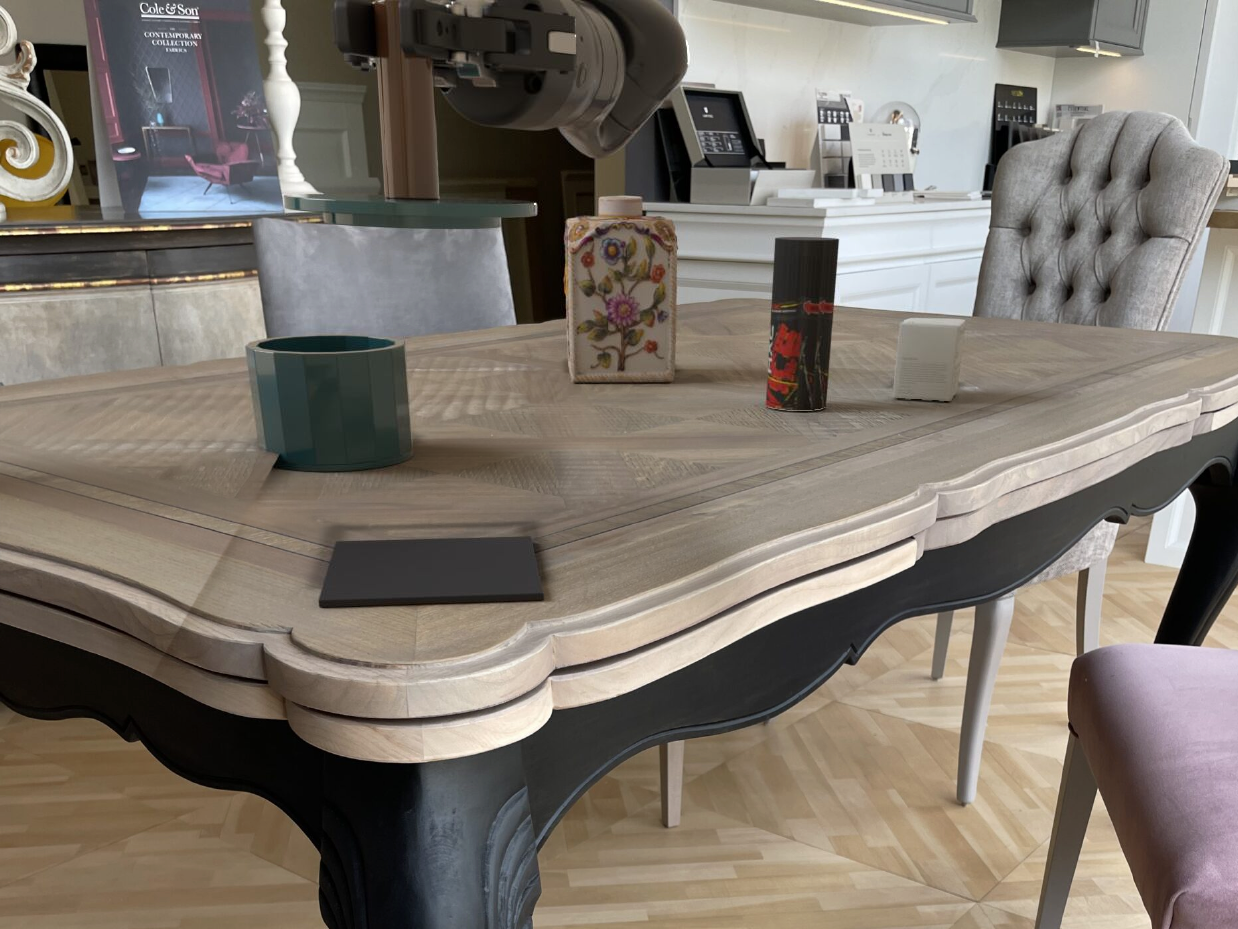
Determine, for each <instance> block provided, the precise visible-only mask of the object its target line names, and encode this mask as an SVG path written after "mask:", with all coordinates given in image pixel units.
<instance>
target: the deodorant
mask: <svg viewBox="0 0 1238 929" xmlns="http://www.w3.org/2000/svg"><path fill="white" fill-rule="evenodd" d="M839 246H840V238H836V237H821V236H820V237H819V236H818V237H817V236H782V237H775V238H774V251H773V268H772V269H773V270H772V271H773V272H772V288H771V304H770V305H771V308H770V323H769V341H768V358H767V359H768V360H767V376H766V395H765V406H766V405H767V406H769V407H772V408H777V409H785V410H815V409H821V408H824V407H826V408H827V401H828V399H827V398H828V386H829V376H830V375H829V373H830V362H831V350H832V349H831V348H832V336H833V335H832V334H833V322H834V312H835V311H834V310H835V298H836V287H837V286H836V285H837V273H838V272H837V271H838V260H839Z"/></svg>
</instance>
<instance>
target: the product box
mask: <svg viewBox="0 0 1238 929" xmlns="http://www.w3.org/2000/svg"><path fill="white" fill-rule="evenodd" d="M966 322H967V320H966V319H962V318H939V317H938V318H934V317H909V318H907V319H904V320H903V321H902V322H900V323H899V330H898V338H897V349H896V358H895V359H896V360H895V367H894V368H895V369H894V377H893V385H892V386H893V388H892V399H897V398H906V399H905V400H911V399H922V400H921V401H932V400H939V401H938V402H944V401H950V402H951V401H952V399H953V398H954V397H955V396H956V395H957V394H958V390H959V382H960V381H959V380H960V371H961V362H962V354H963V347H964V346H963V345H964V340H965V332H966V331H965V330H966V324H967V323H966ZM956 393H957V394H956ZM955 394H956V395H955ZM954 395H955V396H954ZM953 396H954V397H953Z"/></svg>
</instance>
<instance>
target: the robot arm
mask: <svg viewBox="0 0 1238 929" xmlns="http://www.w3.org/2000/svg"><path fill="white" fill-rule="evenodd" d="M373 3H374V1H372V3H371V2H367V1H363V0H335V2H334V5H333V6H334V8H332V9H331V19H332V32H333V44H334V45H336V46H337V48H338V50H339V51H340V53H341V54H343V56H344V64H347V66H350V67H351V68H352V69H354V70H359V72H360V73H370V71H371V70H372V71H375V70H377V57H376V40H375V24H374V7H373ZM399 28H400V44H401V48H402V50H403V52H404V53H405V54H409V55H415V56H420V57H426V58H432V59H434V82H435V87H438V88H439V90H440V91H441V93H442V95H443V97H444V98H445V100H446V101H447V102H448V104H449V105H450V106H451V107H452V108H453V109H454V110H455V111H456V112H457V113H458V114H459V115H460V116H462V117H463V118H464V119H466V120H467V121H470V122H472V123H473V124H477V125H479V126H483V127H488V128H499V129H511V130H522V131H545V130H551V129H558V131H559V132H560V134H561V135H562V136H563V138H565V139H566V141H568V143H570V145H572V146H573V147H574V148H575V149H576V150H577V151H579V153H581V154H583V155H585V156H586V157H588V158H592V159H596V160H601V159H607V158H609V157H611V156H613V155H615V154H616V153H618V152H619V151H620V150H622V149H623V148H624V147H625V146H626V145H627V144H628V143H629V142H630V141H631V140H632V139H633V137H634V136H635V135H636V134H637V132H638V131H639V130H641V128H642V127H643V126H644V125H645V123H646V122H647V121H648V120H649V119H650V118H651V117H652V115H653V114H654V113H655V112H656V111H657V110H658V109H659V108H660V106H662V104H663V103H664V102H665V101H666V100H667V99H668V97H669V96H671V94H672V93H673V92H674V91H675V89H676V88H678V86H679V85H680V83H681V82H682V81H683V79H684V78H685V76H686V74H687V72H688V69H689V63H690V50H689V45H688V41H687V37H686V34H685V31H684V29H683V27H682V25H681V23H680V22H679V20H678V19H677V17H675V16H674V14H673V13H672V12H671V10H669V9H668V8H667V7H666V6H665V5H663V4H662V3H661V2H660V1H658V0H400V2H399Z"/></svg>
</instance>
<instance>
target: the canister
mask: <svg viewBox="0 0 1238 929" xmlns="http://www.w3.org/2000/svg"><path fill="white" fill-rule="evenodd" d="M244 347H245V355H246V356H245V357H246V362H247V371H248V378H249V385H250V394H251V402H252V408H253V416H254V423H255V424H254V425H255V430H256V431H255V432H256V438H257V446H258V447H260V448H261V449H262V450H264V451H266V452H270V453H274V454H278V456H277V458H276V460H274V463H273V465H272V467H274V468H278V469H282V470H283V469H284V470H291V471H300V472H301V471H302V472H320V473H321V472H322V473H323V472H325V473H327V472H328V473H329V472H352V471H363V470H365V471H366V470H371V469H379V468H385V467H389V466H394V465H397V464H400V463H403V462H406V461H408V460H410V459H411V458H412V457H413V455H414V450H413V449H414V448H413V446H414V442H413V428H412V427H413V426H412V415H411V402H410V400H411V399H410V388H409V387H410V386H409V376H408V374H409V373H408V363H407V362H408V361H407V349H406V341H405V340H402V339H399V338H396V337H389V336H381V335H373V334H372V335H371V334H349V333H345V334H343V333H341V334H338V333H337V334H336V333H335V334H332V333H331V334H330V333H329V334H328V333H327V334H301V335H300V334H299V335H285V336H278V337H277V336H276V337H269V338H262V339H258V340H253V341H249V342H248V343H247V344H246V345H245V346H244Z"/></svg>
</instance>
